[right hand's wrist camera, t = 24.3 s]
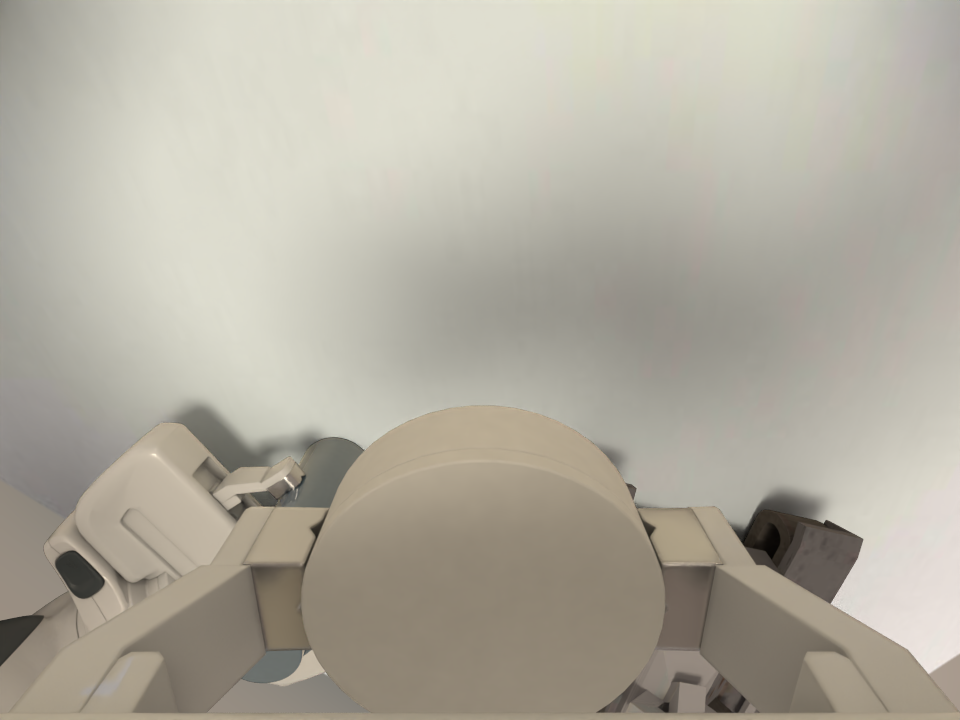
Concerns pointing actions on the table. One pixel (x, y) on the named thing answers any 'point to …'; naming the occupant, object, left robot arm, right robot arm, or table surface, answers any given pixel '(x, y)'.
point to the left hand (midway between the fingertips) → (328, 505)
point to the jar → (316, 490)
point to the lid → (483, 571)
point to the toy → (771, 542)
